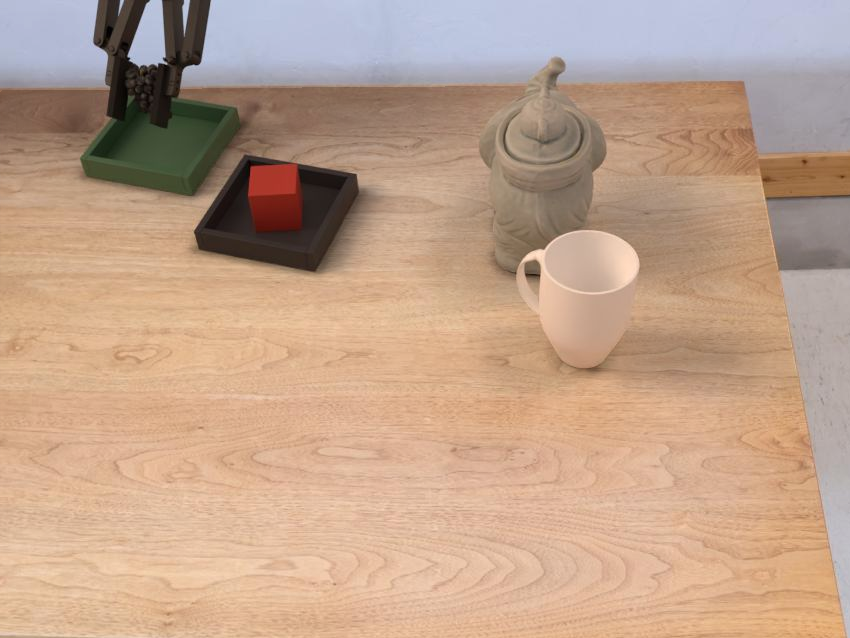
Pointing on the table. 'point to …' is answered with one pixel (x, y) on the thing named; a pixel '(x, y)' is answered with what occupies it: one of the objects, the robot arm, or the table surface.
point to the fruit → (142, 86)
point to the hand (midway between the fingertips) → (137, 121)
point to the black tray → (302, 249)
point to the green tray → (162, 146)
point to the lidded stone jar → (539, 168)
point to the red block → (275, 197)
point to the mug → (583, 293)
